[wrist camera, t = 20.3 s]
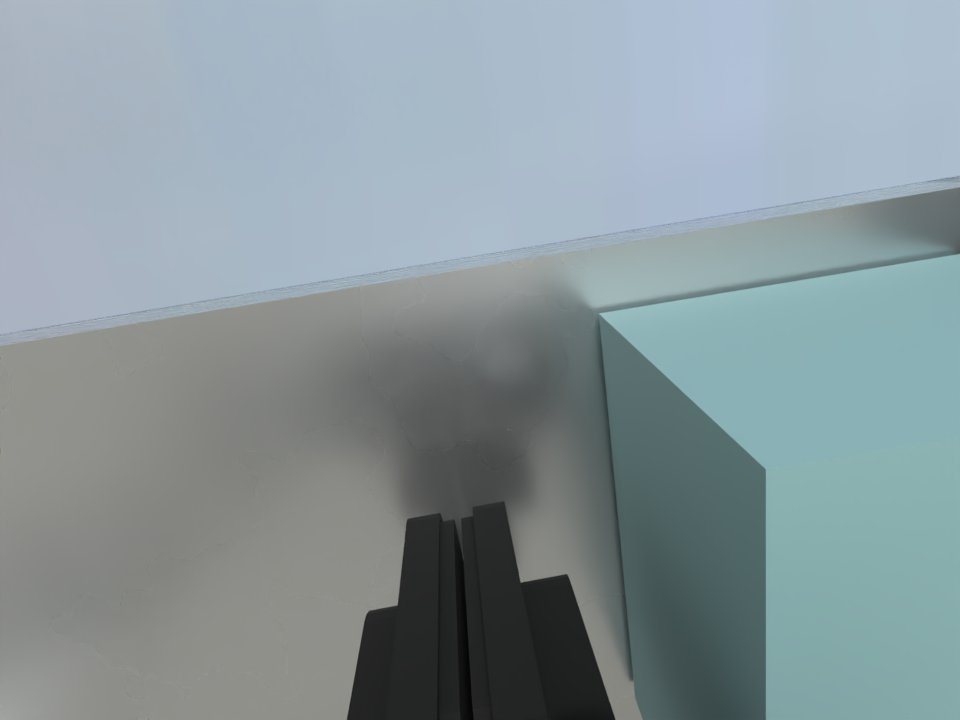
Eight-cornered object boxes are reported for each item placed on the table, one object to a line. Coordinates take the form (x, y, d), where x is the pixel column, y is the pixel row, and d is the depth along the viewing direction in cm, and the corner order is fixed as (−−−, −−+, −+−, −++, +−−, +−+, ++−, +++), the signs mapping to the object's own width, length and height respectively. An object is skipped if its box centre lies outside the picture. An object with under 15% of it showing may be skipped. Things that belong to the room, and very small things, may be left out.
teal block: (931, 649, 11) (1274, 987, 7) (635, 698, 11) (766, 1069, 7) (977, 250, 9) (1576, 335, 4) (598, 313, 9) (765, 470, 4)
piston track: (995, 616, 13) (1219, 797, 9) (-208, 812, 13) (-478, 1073, 9) (1067, 158, 10) (1447, 147, 6) (-510, 419, 10) (-1097, 568, 6)
